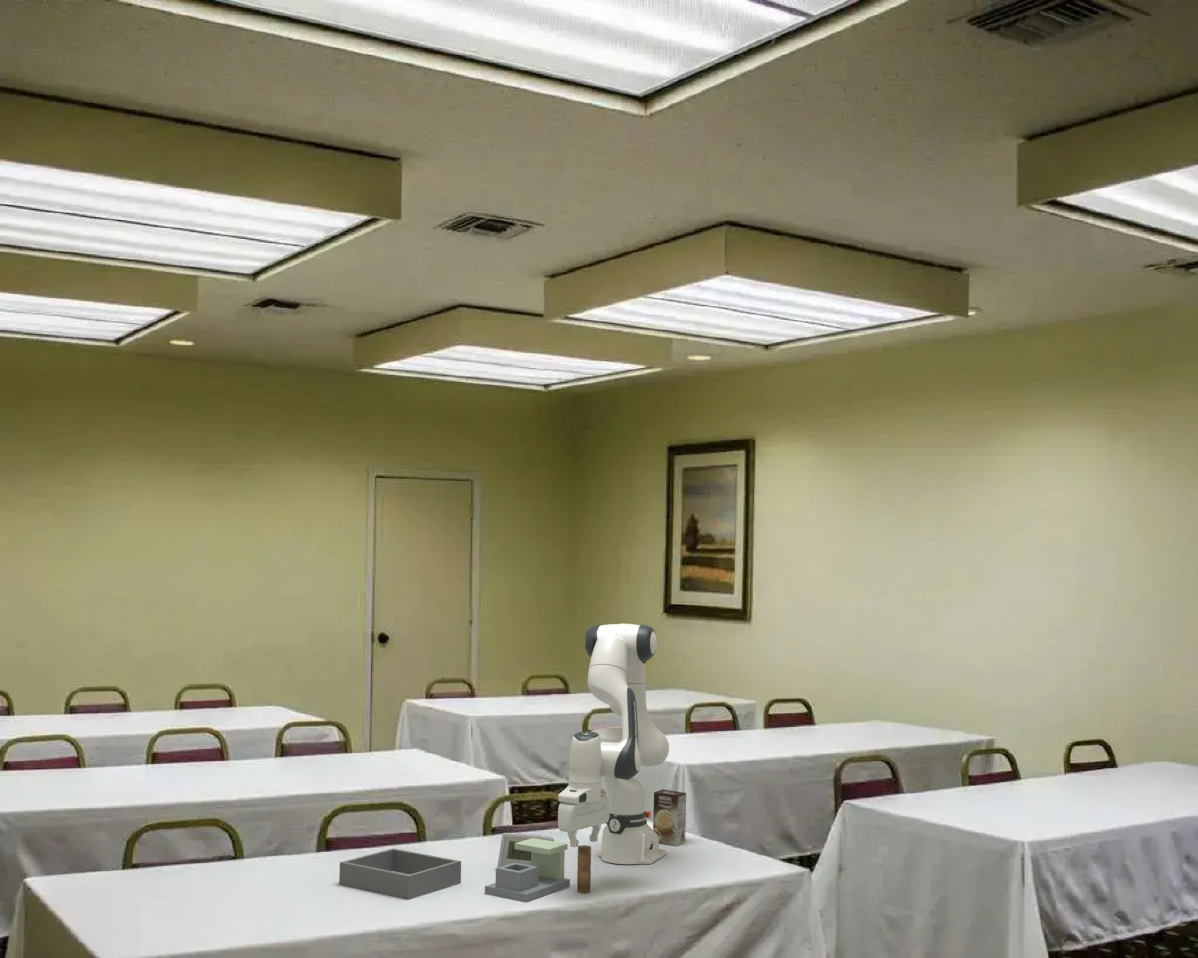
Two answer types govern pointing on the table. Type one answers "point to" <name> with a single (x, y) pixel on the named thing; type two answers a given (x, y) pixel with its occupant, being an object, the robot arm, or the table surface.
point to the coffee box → (670, 817)
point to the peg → (584, 869)
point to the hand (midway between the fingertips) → (584, 843)
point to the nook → (532, 872)
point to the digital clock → (515, 855)
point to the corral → (380, 878)
